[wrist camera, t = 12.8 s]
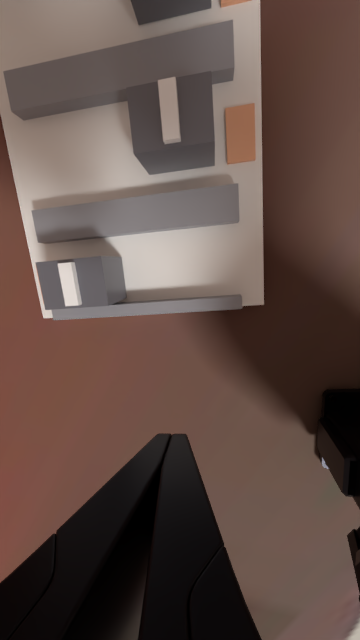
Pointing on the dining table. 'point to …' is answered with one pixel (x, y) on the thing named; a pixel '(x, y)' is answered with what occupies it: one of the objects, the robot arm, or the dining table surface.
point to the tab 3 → (173, 123)
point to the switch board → (117, 150)
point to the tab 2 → (166, 9)
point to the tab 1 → (81, 282)
